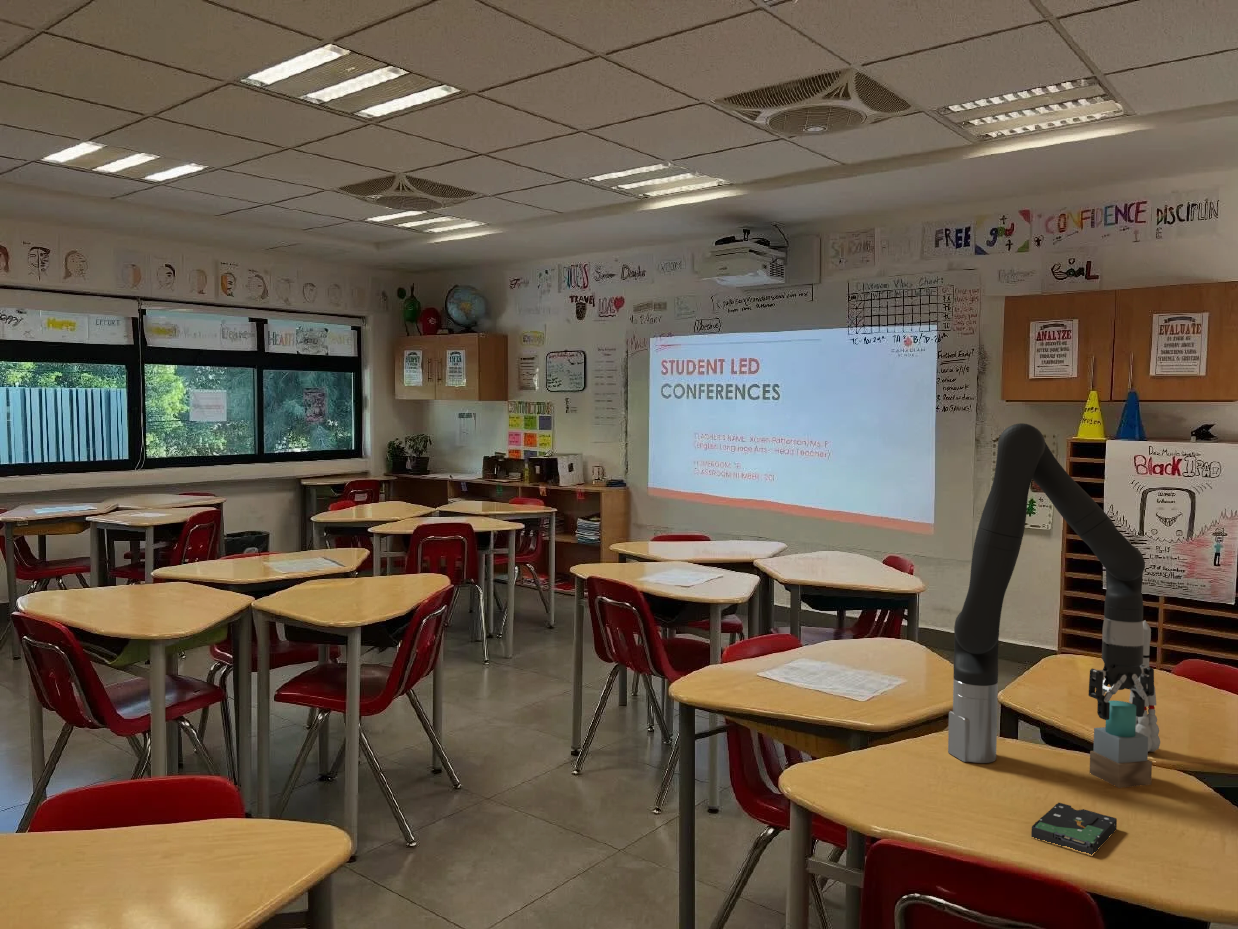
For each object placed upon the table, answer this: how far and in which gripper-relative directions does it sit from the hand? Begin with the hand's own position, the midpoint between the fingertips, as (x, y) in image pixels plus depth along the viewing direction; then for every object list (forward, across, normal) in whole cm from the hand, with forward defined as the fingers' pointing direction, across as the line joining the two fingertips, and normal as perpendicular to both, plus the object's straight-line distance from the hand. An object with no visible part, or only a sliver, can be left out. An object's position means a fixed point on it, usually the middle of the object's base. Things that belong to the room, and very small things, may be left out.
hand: (1120, 717), depth 186 cm
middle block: (+8, 0, 0) cm, 8 cm away
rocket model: (+13, -18, -13) cm, 26 cm away
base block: (+13, 0, 0) cm, 13 cm away
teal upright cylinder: (+3, 0, 0) cm, 3 cm away
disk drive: (+14, +28, +20) cm, 37 cm away
